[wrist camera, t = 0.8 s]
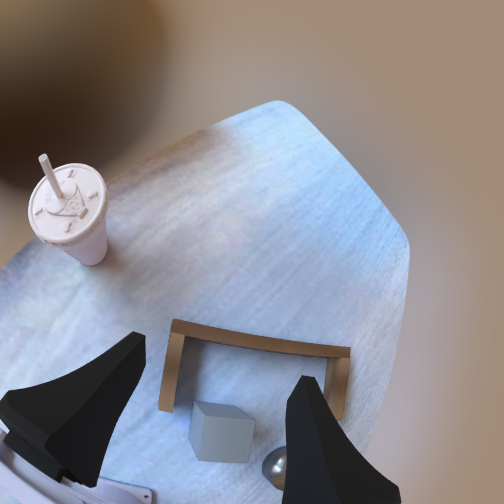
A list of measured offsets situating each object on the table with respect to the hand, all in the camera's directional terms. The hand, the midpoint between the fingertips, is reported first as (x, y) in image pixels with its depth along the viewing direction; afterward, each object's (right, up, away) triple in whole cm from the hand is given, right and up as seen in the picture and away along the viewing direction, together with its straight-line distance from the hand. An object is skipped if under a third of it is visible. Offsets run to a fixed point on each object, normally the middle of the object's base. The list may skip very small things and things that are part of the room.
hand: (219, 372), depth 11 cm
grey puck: (+5, -17, +11) cm, 21 cm away
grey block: (-2, -11, +11) cm, 15 cm away
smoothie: (-15, +6, +13) cm, 20 cm away
